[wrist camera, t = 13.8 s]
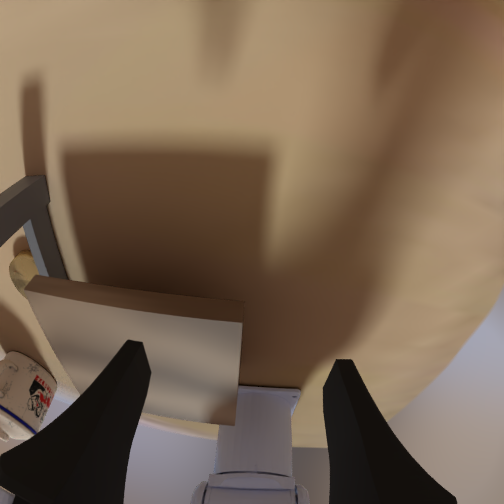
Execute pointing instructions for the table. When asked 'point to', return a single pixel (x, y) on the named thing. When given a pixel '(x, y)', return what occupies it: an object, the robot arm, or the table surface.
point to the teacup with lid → (23, 396)
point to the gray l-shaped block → (31, 222)
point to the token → (23, 270)
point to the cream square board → (147, 342)
